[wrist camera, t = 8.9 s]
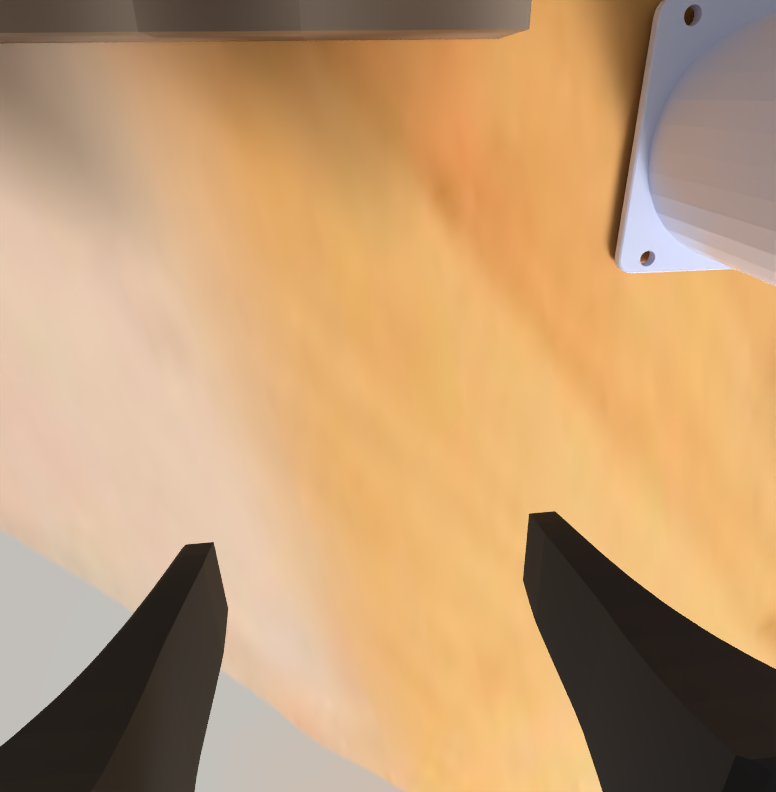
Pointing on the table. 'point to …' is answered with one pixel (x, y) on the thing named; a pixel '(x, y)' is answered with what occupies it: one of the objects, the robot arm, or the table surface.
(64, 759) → the robot arm
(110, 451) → the table surface
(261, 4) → the post foot
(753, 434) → the table surface
